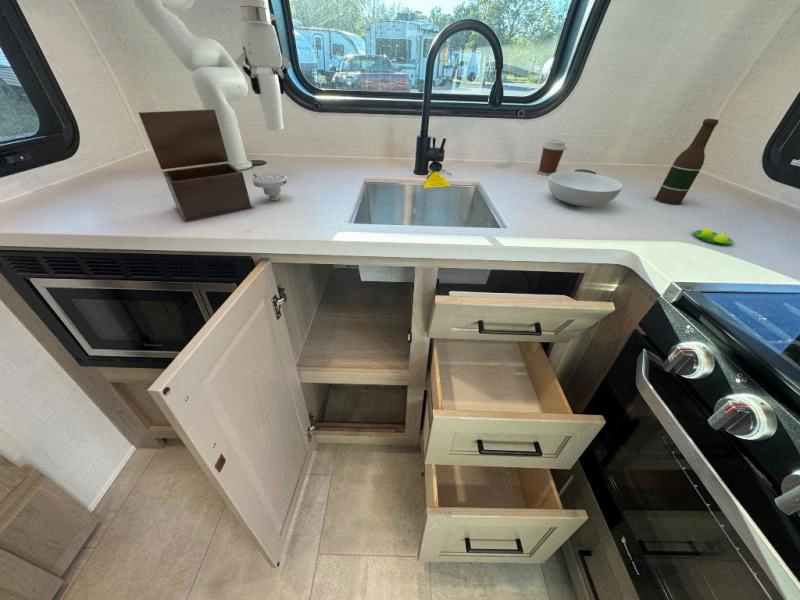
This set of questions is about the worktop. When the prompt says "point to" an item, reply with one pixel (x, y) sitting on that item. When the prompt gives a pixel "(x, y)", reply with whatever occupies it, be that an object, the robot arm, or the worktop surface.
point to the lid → (184, 137)
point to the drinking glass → (271, 100)
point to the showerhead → (270, 184)
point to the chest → (208, 190)
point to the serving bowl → (583, 188)
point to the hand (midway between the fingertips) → (269, 93)
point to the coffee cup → (551, 156)
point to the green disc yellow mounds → (713, 236)
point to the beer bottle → (686, 167)
